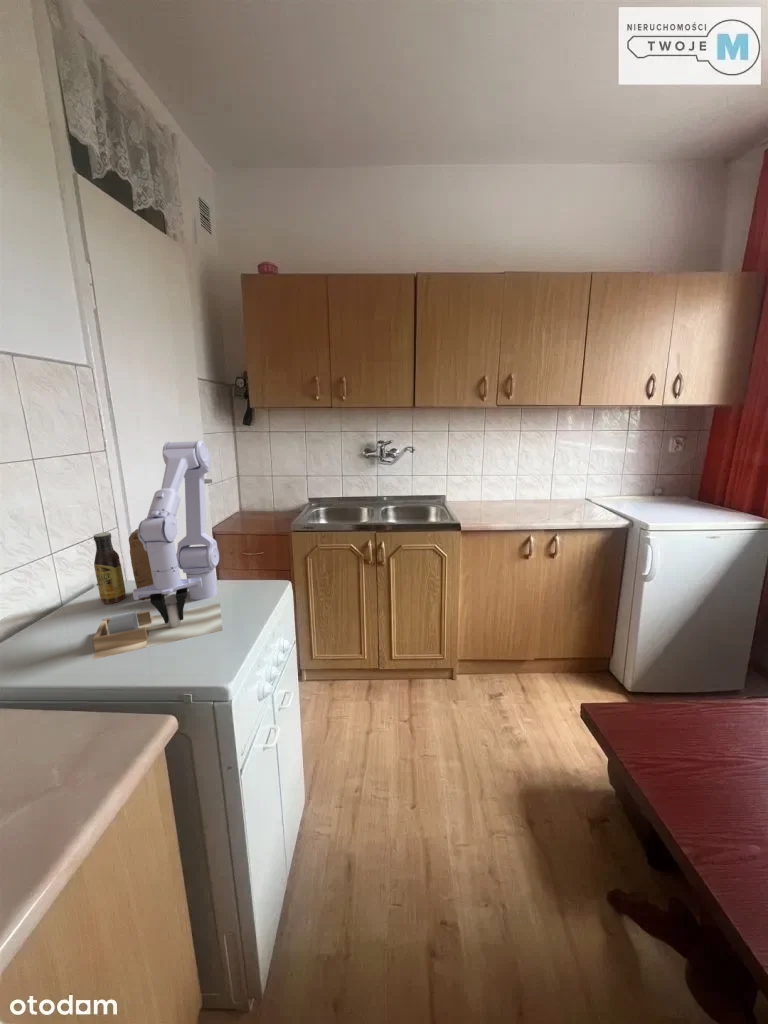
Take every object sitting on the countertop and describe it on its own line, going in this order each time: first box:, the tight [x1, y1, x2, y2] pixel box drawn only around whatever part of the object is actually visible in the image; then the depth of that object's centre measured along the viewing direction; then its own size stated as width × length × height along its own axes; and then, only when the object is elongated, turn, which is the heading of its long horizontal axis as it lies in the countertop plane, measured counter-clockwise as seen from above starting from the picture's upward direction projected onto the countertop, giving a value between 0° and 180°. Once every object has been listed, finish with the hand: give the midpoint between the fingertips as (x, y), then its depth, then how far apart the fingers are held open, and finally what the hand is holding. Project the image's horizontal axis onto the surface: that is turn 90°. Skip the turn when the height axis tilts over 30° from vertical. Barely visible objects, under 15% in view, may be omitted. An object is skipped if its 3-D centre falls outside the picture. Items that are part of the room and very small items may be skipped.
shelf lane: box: [92, 602, 223, 660], centre depth 101 cm, size 16×26×4 cm, turn 113°
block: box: [128, 528, 170, 601], centre depth 121 cm, size 11×8×20 cm
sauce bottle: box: [93, 531, 127, 604], centre depth 119 cm, size 6×6×20 cm
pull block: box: [107, 601, 181, 634], centre depth 99 cm, size 5×14×6 cm, turn 113°
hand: (174, 619), depth 102 cm, fingers closed on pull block, 3 cm apart
